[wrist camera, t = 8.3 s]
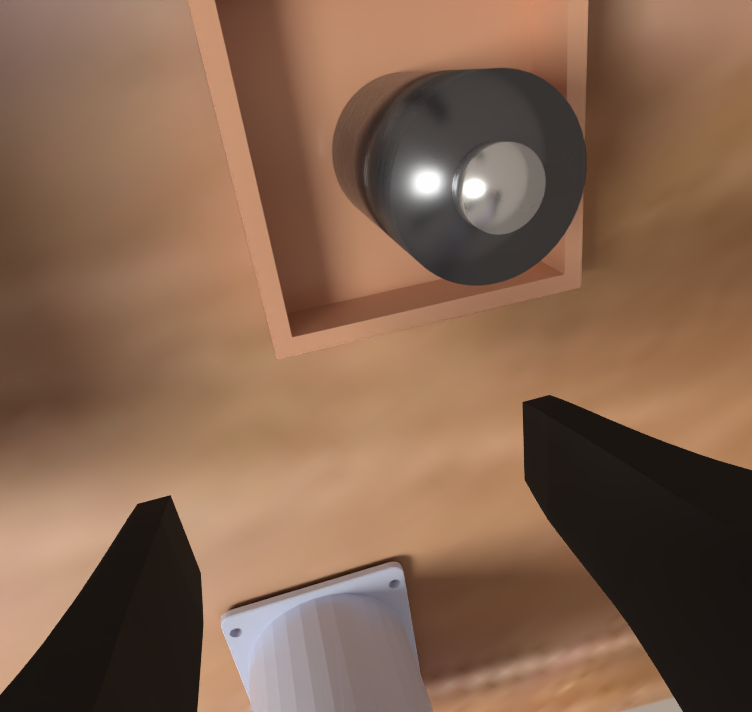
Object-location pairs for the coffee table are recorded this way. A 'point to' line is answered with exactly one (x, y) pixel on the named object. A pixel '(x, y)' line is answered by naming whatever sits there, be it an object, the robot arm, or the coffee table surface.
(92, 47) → the coffee table surface
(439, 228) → the cell
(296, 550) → the coffee table surface
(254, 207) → the dish
